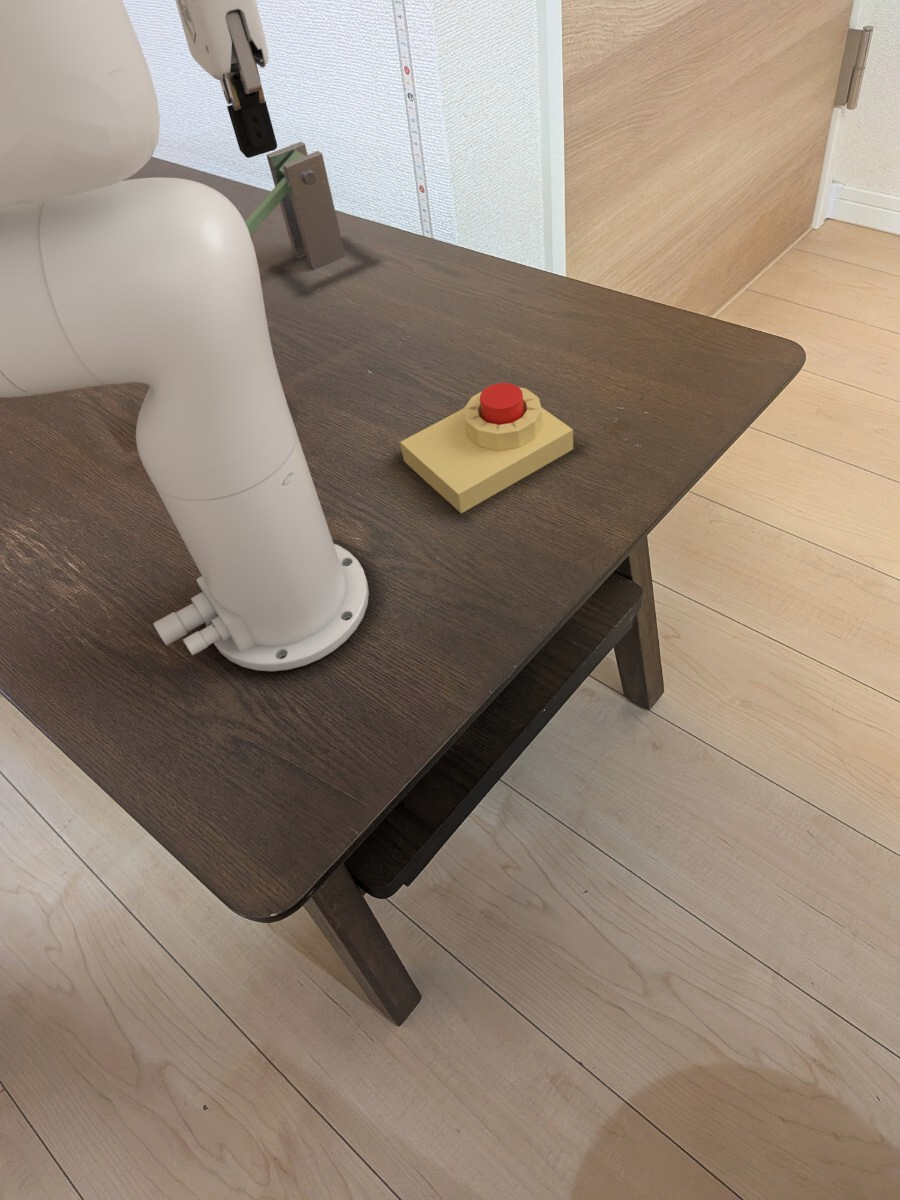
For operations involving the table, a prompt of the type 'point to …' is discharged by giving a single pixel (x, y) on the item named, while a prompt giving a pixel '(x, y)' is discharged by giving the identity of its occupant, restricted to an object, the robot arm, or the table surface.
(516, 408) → the button
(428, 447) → the button box
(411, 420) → the table surface
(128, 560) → the table surface
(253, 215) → the lever
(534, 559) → the table surface
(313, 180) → the bracket
